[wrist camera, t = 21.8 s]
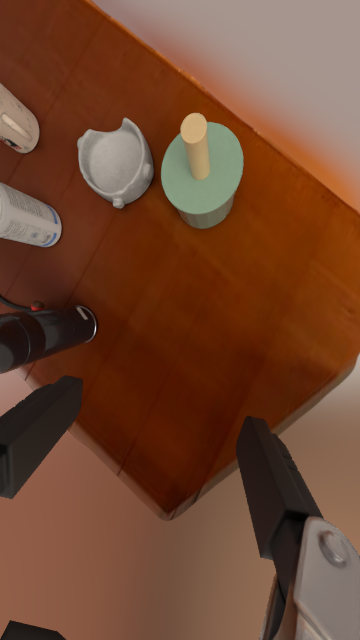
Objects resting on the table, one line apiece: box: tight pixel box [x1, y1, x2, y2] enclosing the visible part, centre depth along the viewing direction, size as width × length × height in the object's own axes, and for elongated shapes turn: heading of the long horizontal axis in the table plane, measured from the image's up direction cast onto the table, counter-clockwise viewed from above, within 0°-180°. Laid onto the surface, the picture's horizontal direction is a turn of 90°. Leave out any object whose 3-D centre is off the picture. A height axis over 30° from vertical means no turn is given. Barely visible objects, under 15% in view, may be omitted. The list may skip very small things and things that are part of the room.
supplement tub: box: [0, 182, 62, 247], centre depth 38 cm, size 10×10×15 cm
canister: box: [175, 191, 236, 229], centre depth 33 cm, size 11×11×8 cm
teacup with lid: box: [0, 83, 39, 153], centre depth 37 cm, size 12×9×12 cm
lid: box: [161, 113, 243, 215], centre depth 25 cm, size 12×12×9 cm
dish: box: [77, 118, 154, 208], centre depth 37 cm, size 14×14×5 cm
